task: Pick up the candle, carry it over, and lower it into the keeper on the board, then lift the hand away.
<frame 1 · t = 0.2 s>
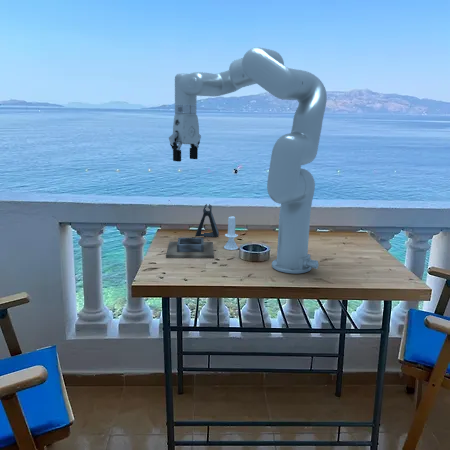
hand: (185, 160, 163), 31 cm above the table, tool pointing down, fingers open, 9 cm apart
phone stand: (207, 235, 181), on the table
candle: (231, 248, 165), on the table
keeper board: (190, 250, 161), on the table
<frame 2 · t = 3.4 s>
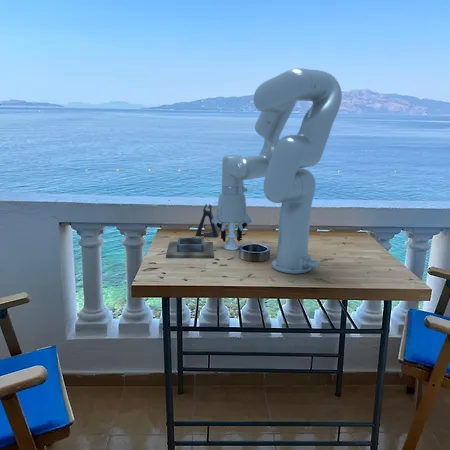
hand: (231, 240, 165), 3 cm above the table, tool pointing down, fingers closed on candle, 4 cm apart
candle: (230, 248, 165), on the table, touching gripper
everything else where it was.
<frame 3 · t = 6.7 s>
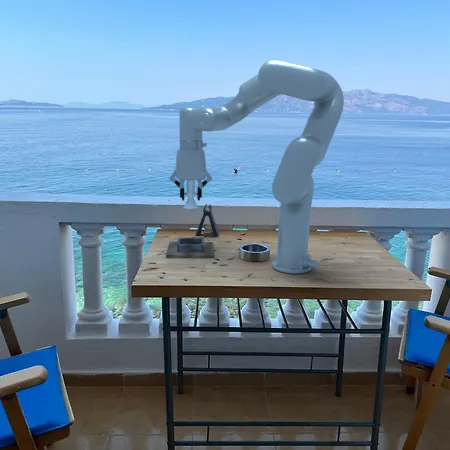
hand: (190, 199, 156), 18 cm above the table, tool pointing down, fingers closed on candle, 4 cm apart
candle: (190, 208, 157), point 15 cm above the table, touching gripper
everything else where it was.
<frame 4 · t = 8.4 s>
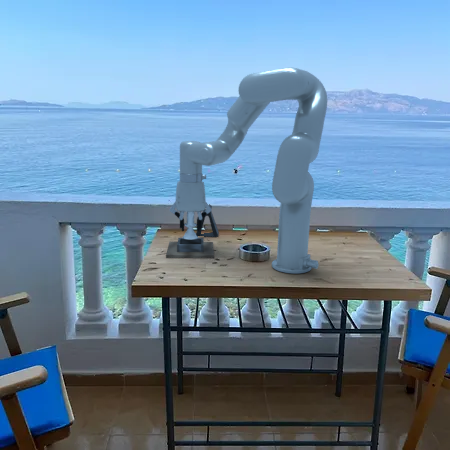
hand: (190, 229, 159), 8 cm above the table, tool pointing down, fingers closed on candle, 4 cm apart
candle: (190, 238, 160), point 5 cm above the table, touching gripper
everything else where it was.
when the fingers open (5 cm above the table, at t = 10.0 s): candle drops 1 cm, resting on keeper board.
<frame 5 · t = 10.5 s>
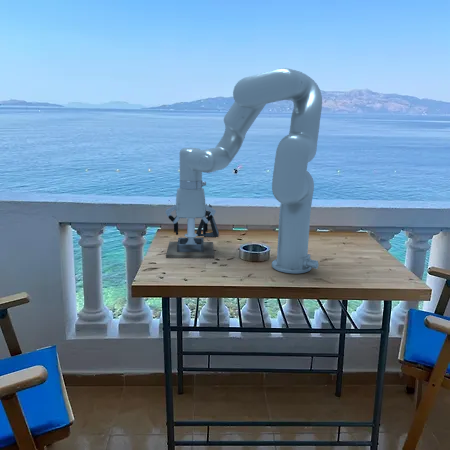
hand: (190, 233, 159), 6 cm above the table, tool pointing down, fingers open, 9 cm apart
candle: (190, 248, 161), point 1 cm above the table, touching keeper board
everything else where it was.
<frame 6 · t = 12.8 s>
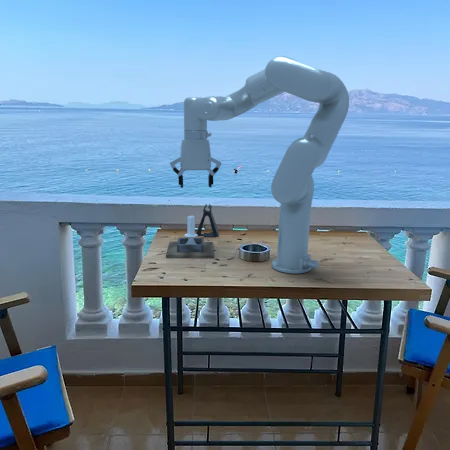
hand: (195, 186, 156), 23 cm above the table, tool pointing down, fingers open, 9 cm apart
nothing on the table moved.
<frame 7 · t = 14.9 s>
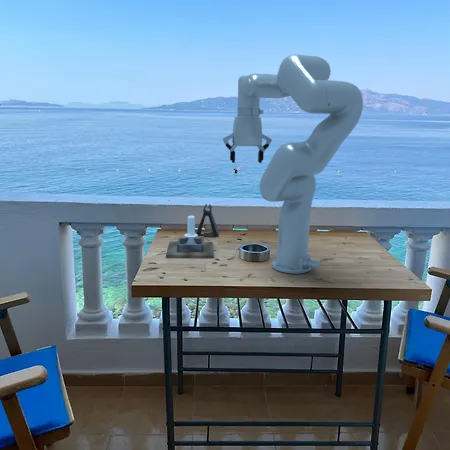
hand: (246, 162, 163), 30 cm above the table, tool pointing down, fingers open, 9 cm apart
nothing on the table moved.
at the end: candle 0.1 cm off-centre on the keeper board, point 0.8 cm above the keeper board's base; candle tilted 0°; the gripper is holding nothing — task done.
